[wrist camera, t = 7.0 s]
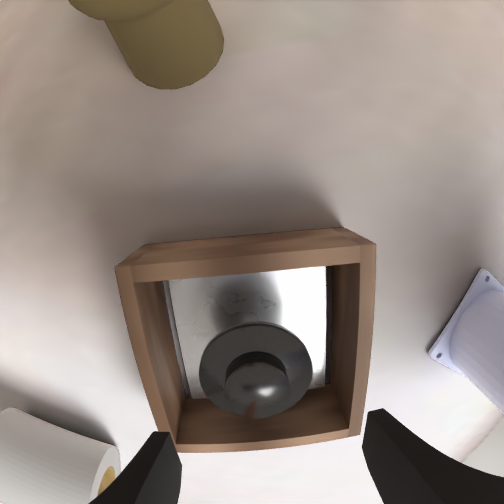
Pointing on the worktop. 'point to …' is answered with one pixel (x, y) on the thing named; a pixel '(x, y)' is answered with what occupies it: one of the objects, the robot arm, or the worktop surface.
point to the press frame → (243, 262)
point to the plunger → (253, 338)
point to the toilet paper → (51, 462)
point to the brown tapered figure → (162, 37)
